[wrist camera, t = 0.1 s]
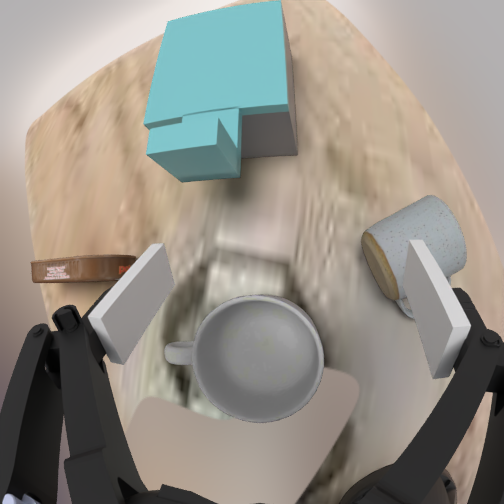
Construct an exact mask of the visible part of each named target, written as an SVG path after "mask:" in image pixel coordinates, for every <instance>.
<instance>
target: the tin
mask: <svg viewBox="0 0 504 504" xmlns="http://www.w3.org/2000/svg"><path fill="white" fill-rule="evenodd" d="M135 259H136V256H131V255H88V256H75V257H66V258H57V259H48V260H38V261H32V262H31V266H32V281H33V282H34V283H66V282H94V281H116V280H120V278H121V277H122V276H123V275H124V274H125V273H126V272H127V271H128V270H129V268H130V267H131V266H132V265H133V264H134V263H135Z"/></svg>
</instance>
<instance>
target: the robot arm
mask: <svg viewBox="0 0 504 504" xmlns="http://www.w3.org/2000/svg"><path fill="white" fill-rule="evenodd" d="M174 285H175V283H174V280H173V276H172V272H171V269H170V265H169V261H168V257H167V253H166V249H165V245H164V243H163V244H152V245H151V246H150V247H149V248H148V249H147V250H146V251H145V252H144V253H143V254H142V255H141V256H140V258H139V259H138V260H137V261H136V262H135V263H134V264H133V265H132V266H131V267H130V268H129V270H128V271H127V272H126V273H125V274H124V275H123V276H122V277H121V278H120V280H119V281H118V282H117V283H116V284H115V285H114V286H113V287H111V288H109V289H108V290H106V291H105V292H104V293H103V294H102V295H101V296H100V297H99V298H98V300H97V301H96V302H95V303H94V305H92V306H91V308H90V309H89V310H88V311H87V312H86V313H85V315H84V316H83V317H82V318H81V317H80V315H79V313H78V310H77V308H76V306H74V305H66V306H63V307H61V308H59V309H58V310H57V311H55V313H54V314H53V316H52V320H53V322H54V323H55V325H56V327H57V329H58V331H52V332H51V331H50V329H49V327H48V325H47V324H39V325H35V326H34V327H33V328H32V329H31V330H30V331H29V333H28V334H27V337H26V339H25V342H24V344H23V347H22V349H21V352H20V354H19V357H18V360H17V363H16V365H15V368H14V371H13V374H12V377H11V380H10V383H9V386H8V389H7V392H6V396H5V399H4V402H3V406H2V409H1V413H0V504H56V502H57V491H58V468H59V454H60V453H59V452H60V442H61V433H62V424H63V416H64V418H65V425H66V432H67V439H68V445H69V451H70V458H68V459H65V461H64V469H65V474H66V478H67V484H68V488H69V492H70V497H71V501H72V504H217V503H215V502H213V501H210V500H208V499H206V498H204V497H202V496H200V495H198V494H196V493H193V492H191V491H187V490H183V489H179V488H175V487H171V486H167V485H164V484H162V486H161V489H160V490H152V491H148V490H147V488H146V487H145V485H144V484H143V482H142V480H141V479H140V476H139V474H138V471H137V469H136V466H135V463H134V461H133V458H132V455H131V452H130V450H129V447H128V444H127V441H126V438H125V435H124V431H123V428H122V425H121V422H120V418H119V415H118V412H117V408H116V405H115V401H114V397H113V394H112V390H111V386H110V382H109V378H108V373H107V369H106V365H105V362H104V361H103V357H104V356H105V354H107V356H108V358H109V359H110V361H111V362H113V363H117V364H122V365H124V364H125V362H126V361H127V359H128V357H129V356H130V354H131V352H132V351H133V349H134V348H135V346H136V344H137V343H138V341H139V340H140V338H141V336H142V335H143V333H144V332H145V330H146V328H147V327H148V325H149V324H150V322H151V321H152V319H153V317H154V316H155V314H156V313H157V311H158V310H159V308H160V307H161V305H162V303H163V302H164V300H165V299H166V297H167V296H168V294H169V293H170V291H171V290H172V288H173V287H174ZM402 285H403V288H404V291H405V293H406V296H407V299H408V302H409V304H410V307H411V310H412V313H413V316H414V319H415V322H416V325H417V328H418V331H419V334H420V337H421V341H422V344H423V347H424V350H425V354H426V357H427V361H428V364H429V368H430V371H431V375H432V379H437V378H445V377H449V376H450V374H451V372H452V369H453V367H454V370H455V374H454V376H453V378H452V380H451V381H450V383H449V385H448V387H447V388H446V390H445V392H444V393H443V395H442V397H441V398H440V400H439V402H438V403H437V405H436V406H435V408H434V409H433V411H432V413H431V414H430V416H429V417H428V419H427V420H426V422H425V423H424V424H423V426H422V427H421V429H420V430H419V432H418V433H417V434H416V436H415V437H414V439H413V440H412V441H411V443H410V444H409V445H408V447H407V448H406V449H405V451H404V452H403V453H402V454H401V456H400V457H399V458H398V460H397V461H396V462H395V463H394V464H393V465H390V466H387V467H385V468H382V469H380V470H378V471H376V472H374V473H372V474H370V475H368V476H367V477H365V478H363V479H362V480H361V481H359V482H358V483H357V484H355V485H354V486H353V487H352V488H351V489H350V490H349V491H348V492H347V493H346V494H345V496H344V497H343V498H342V500H341V502H340V504H457V490H456V486H455V483H454V481H453V479H452V477H451V476H450V474H449V473H448V471H447V470H446V469H445V468H446V466H447V464H448V463H449V461H450V459H451V458H452V456H453V454H454V453H455V451H456V449H457V448H458V446H459V444H460V442H461V441H462V439H463V437H464V435H465V433H466V431H467V429H468V428H469V426H470V424H471V422H472V420H473V418H474V416H475V414H476V412H477V409H478V407H479V405H480V403H481V401H482V399H483V396H484V394H485V392H493V397H492V404H491V411H490V417H489V423H488V428H487V433H486V438H485V443H484V447H483V452H482V456H481V460H480V464H479V467H478V471H477V474H476V478H475V481H474V485H473V488H472V491H471V494H470V497H469V500H468V503H467V504H504V342H503V341H502V339H501V337H500V336H499V335H498V334H497V333H496V332H494V331H492V330H489V329H487V328H486V326H485V324H484V323H483V321H482V319H481V317H480V315H479V313H478V311H477V310H476V309H475V306H474V304H473V303H472V301H471V299H470V297H469V296H468V294H467V293H466V292H465V291H463V290H462V289H461V288H451V286H450V285H449V283H448V281H447V279H446V277H445V276H444V274H443V272H442V271H441V269H440V267H439V265H438V264H437V262H436V260H435V259H434V257H433V256H432V254H431V252H430V251H429V249H428V248H427V246H426V244H425V243H424V241H423V240H409V244H408V252H407V259H406V266H405V272H404V279H403V284H402ZM45 367H46V370H45ZM256 504H263V503H256Z"/></svg>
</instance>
